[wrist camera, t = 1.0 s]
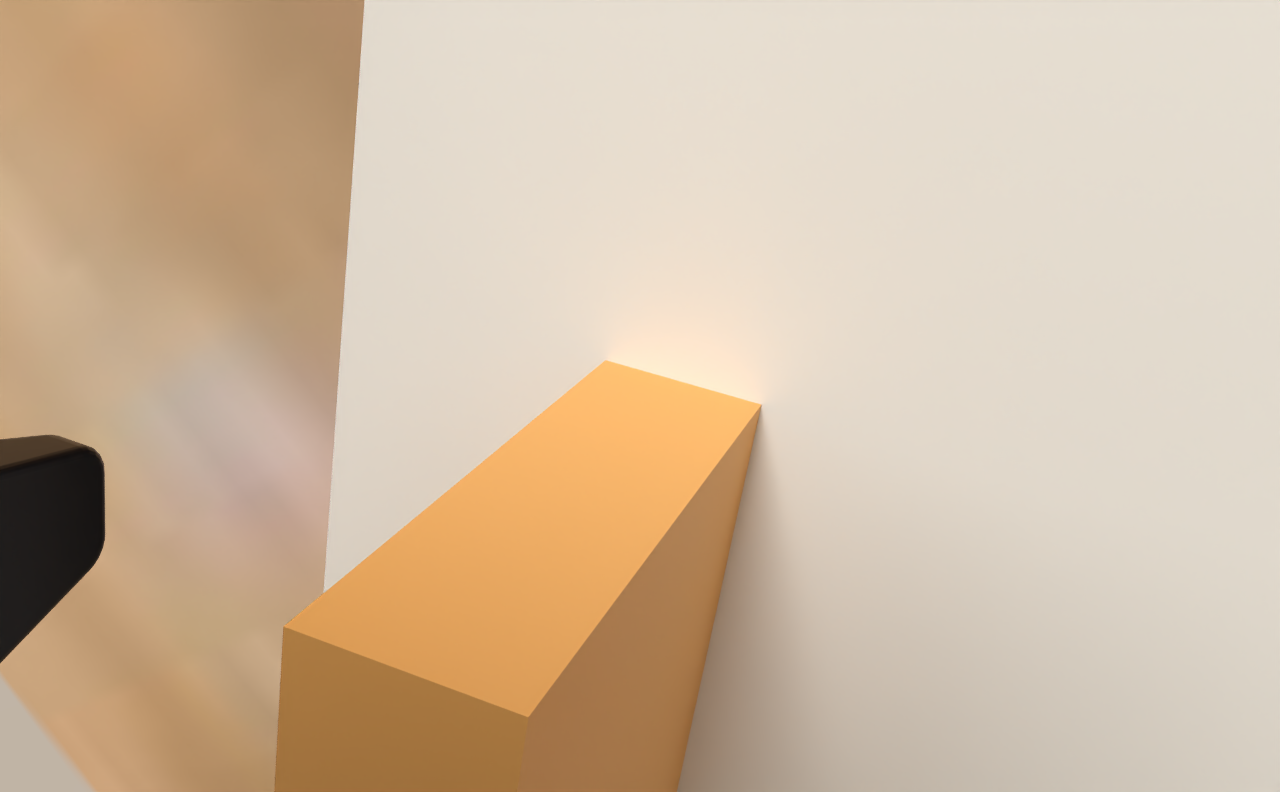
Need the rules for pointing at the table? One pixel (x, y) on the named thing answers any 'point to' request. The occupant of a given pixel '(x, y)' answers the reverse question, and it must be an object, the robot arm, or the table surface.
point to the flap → (803, 402)
